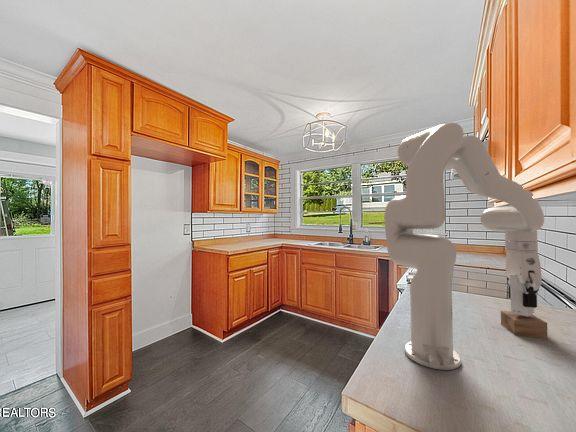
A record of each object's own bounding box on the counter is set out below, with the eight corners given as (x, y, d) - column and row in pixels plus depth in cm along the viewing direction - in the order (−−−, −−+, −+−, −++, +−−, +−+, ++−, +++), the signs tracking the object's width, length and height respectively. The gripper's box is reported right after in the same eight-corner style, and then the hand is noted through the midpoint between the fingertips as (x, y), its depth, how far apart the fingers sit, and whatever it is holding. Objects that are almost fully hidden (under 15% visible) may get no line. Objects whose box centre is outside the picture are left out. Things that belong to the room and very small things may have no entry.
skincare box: (529, 317, 76) (528, 276, 76) (509, 312, 80) (509, 274, 80) (535, 312, 79) (534, 274, 79) (516, 308, 83) (515, 271, 83)
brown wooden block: (547, 338, 74) (547, 322, 74) (514, 334, 77) (514, 320, 77) (530, 326, 82) (530, 313, 82) (501, 324, 84) (500, 310, 84)
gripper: (555, 250, 70) (557, 314, 70) (519, 243, 87) (520, 295, 87) (522, 249, 72) (524, 311, 72) (493, 243, 89) (494, 293, 89)
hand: (522, 302), depth 79 cm, fingers closed on skincare box, 7 cm apart
